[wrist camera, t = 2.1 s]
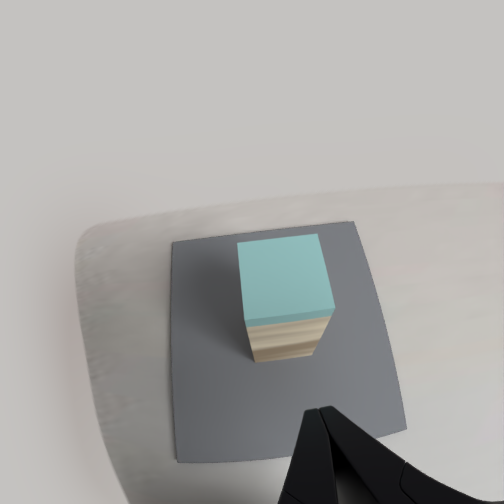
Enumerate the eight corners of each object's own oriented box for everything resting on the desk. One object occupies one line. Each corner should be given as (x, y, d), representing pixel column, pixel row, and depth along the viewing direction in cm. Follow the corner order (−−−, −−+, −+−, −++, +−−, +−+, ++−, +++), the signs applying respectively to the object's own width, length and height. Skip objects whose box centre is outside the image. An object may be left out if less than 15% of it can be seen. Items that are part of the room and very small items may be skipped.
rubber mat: (404, 429, 18) (407, 429, 17) (179, 462, 18) (177, 462, 17) (352, 224, 27) (353, 221, 27) (174, 245, 27) (172, 242, 27)
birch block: (311, 354, 21) (335, 307, 13) (255, 362, 21) (244, 319, 13) (302, 303, 23) (317, 233, 15) (249, 310, 23) (237, 242, 15)
